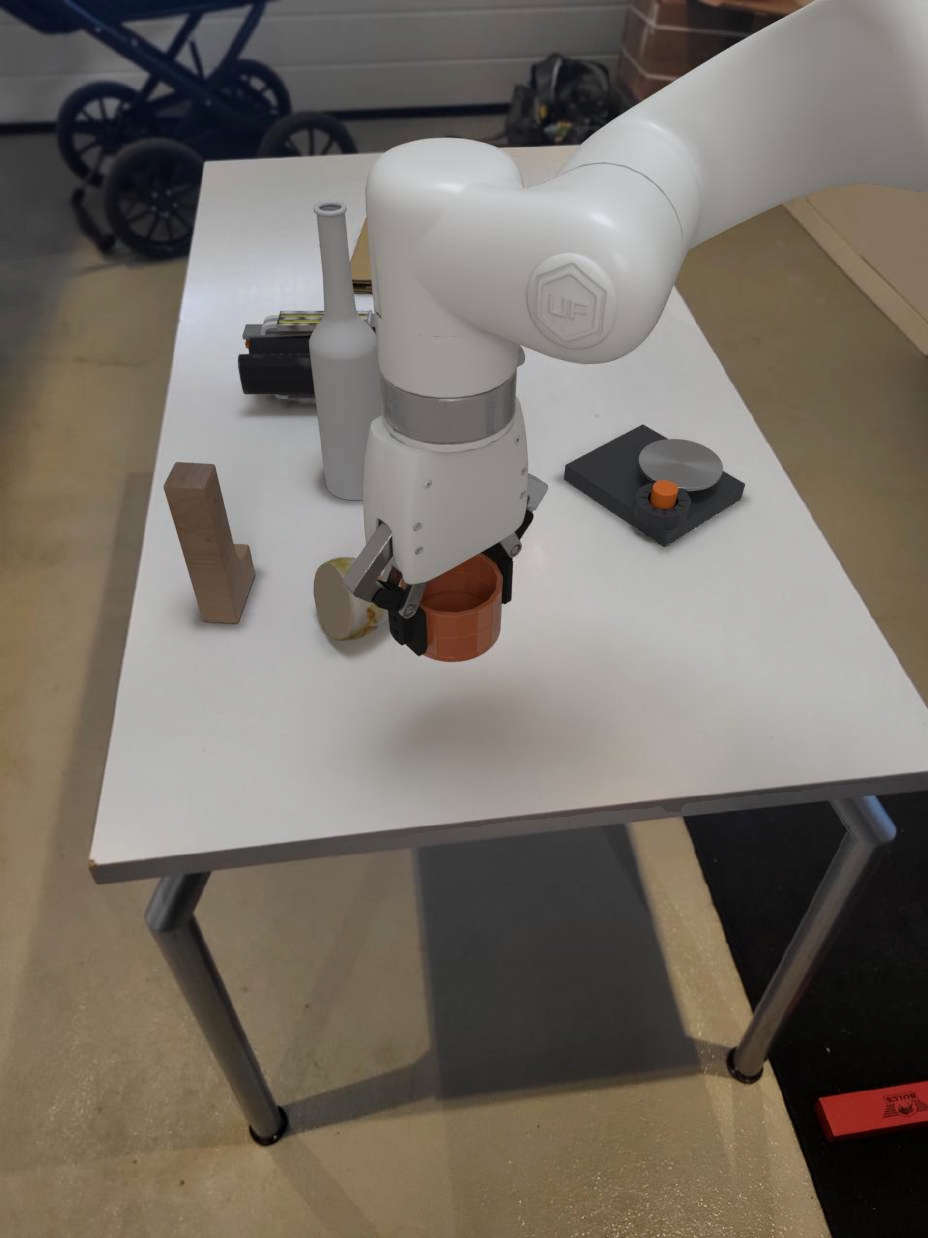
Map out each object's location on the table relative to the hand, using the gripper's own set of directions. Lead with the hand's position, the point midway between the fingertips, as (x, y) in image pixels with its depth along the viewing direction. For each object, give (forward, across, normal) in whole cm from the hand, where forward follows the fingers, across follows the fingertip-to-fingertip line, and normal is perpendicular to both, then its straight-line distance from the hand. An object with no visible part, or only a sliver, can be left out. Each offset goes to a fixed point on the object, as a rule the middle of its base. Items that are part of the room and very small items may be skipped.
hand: (452, 615), depth 62 cm
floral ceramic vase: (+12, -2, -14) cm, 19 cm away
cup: (+1, 0, 0) cm, 1 cm away
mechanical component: (+12, -22, -44) cm, 51 cm away
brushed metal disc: (+9, -37, -8) cm, 39 cm away
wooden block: (+12, +6, -24) cm, 28 cm away
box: (+12, -50, -69) cm, 86 cm away
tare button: (+9, -31, -6) cm, 33 cm away
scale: (+12, -35, -11) cm, 39 cm away
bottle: (+12, -12, -31) cm, 36 cm away
